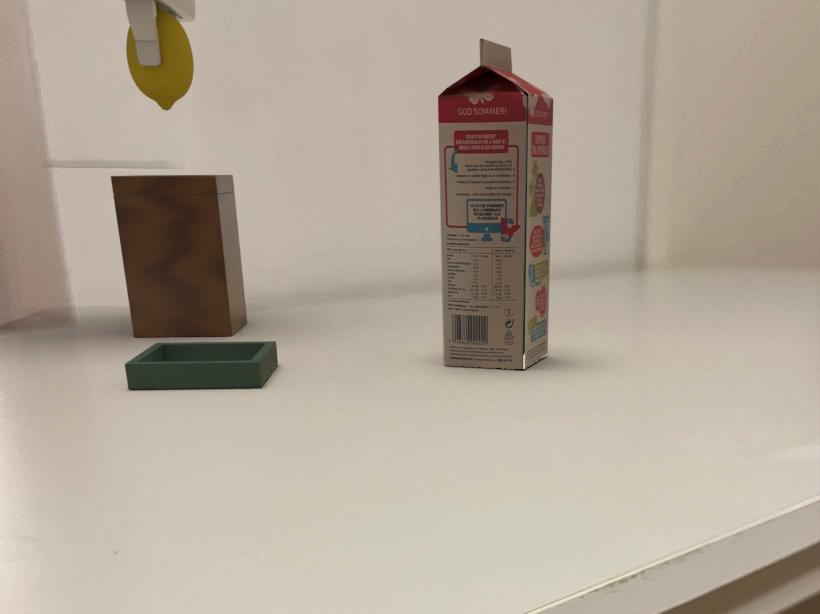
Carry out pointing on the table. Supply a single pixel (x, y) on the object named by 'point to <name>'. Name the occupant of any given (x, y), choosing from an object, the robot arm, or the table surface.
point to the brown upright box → (180, 254)
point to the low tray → (202, 365)
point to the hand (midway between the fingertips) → (160, 70)
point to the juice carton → (495, 215)
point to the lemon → (164, 63)
